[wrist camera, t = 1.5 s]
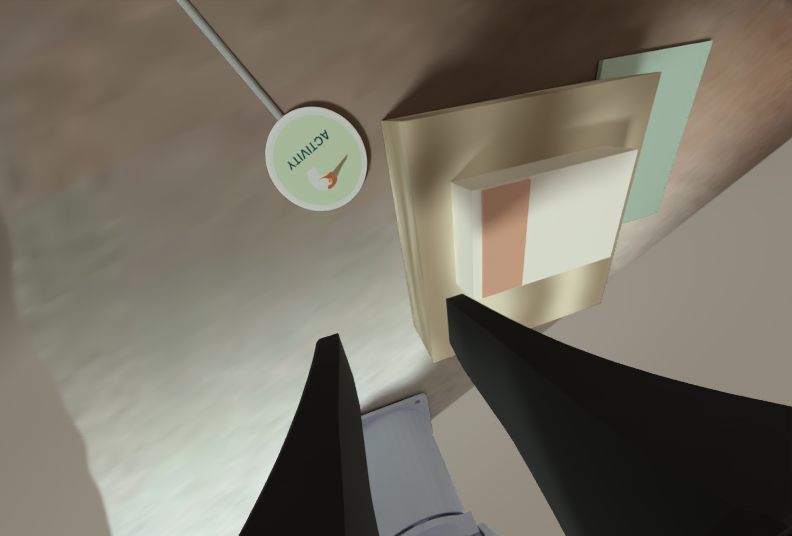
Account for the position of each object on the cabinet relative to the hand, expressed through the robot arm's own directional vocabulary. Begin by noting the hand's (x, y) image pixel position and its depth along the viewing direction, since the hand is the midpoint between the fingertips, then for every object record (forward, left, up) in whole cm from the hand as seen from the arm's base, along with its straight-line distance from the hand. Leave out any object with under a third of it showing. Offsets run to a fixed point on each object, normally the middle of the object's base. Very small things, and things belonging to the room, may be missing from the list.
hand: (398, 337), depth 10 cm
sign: (-3, +9, -11) cm, 14 cm away
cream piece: (+10, -2, -10) cm, 14 cm away
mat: (+22, +1, -10) cm, 24 cm away
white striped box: (+10, 0, -6) cm, 11 cm away
